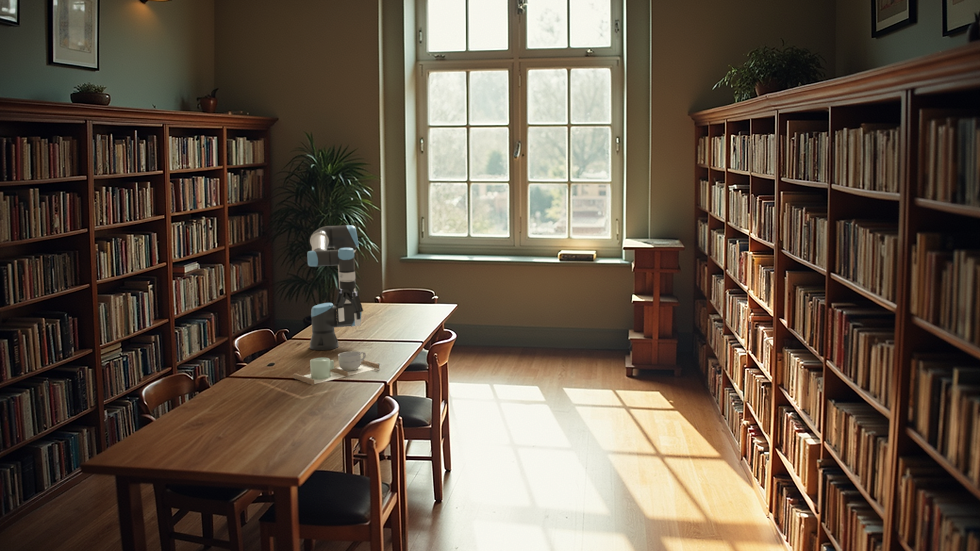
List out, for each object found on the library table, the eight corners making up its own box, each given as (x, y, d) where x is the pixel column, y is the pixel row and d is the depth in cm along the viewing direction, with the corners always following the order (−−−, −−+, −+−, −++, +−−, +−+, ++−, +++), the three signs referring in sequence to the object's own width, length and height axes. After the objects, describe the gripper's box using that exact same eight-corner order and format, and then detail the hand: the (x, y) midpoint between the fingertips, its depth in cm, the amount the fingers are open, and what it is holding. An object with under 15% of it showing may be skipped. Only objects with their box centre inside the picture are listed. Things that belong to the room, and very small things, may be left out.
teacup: (342, 373, 392) (342, 357, 390) (335, 368, 401) (334, 352, 400) (371, 369, 398) (370, 353, 397) (363, 364, 408) (362, 348, 406)
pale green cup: (307, 377, 387) (306, 360, 386) (328, 372, 395) (327, 355, 394) (317, 380, 381) (316, 363, 380) (339, 375, 389) (338, 358, 388)
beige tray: (293, 380, 387) (293, 373, 386) (360, 364, 412) (359, 358, 411) (312, 386, 375) (312, 380, 375) (379, 370, 400) (379, 363, 400)
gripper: (326, 278, 406) (328, 320, 410) (356, 284, 388) (358, 329, 392) (339, 276, 411) (341, 318, 415) (369, 282, 394) (371, 326, 397)
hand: (349, 323), depth 404 cm, fingers open, 13 cm apart
